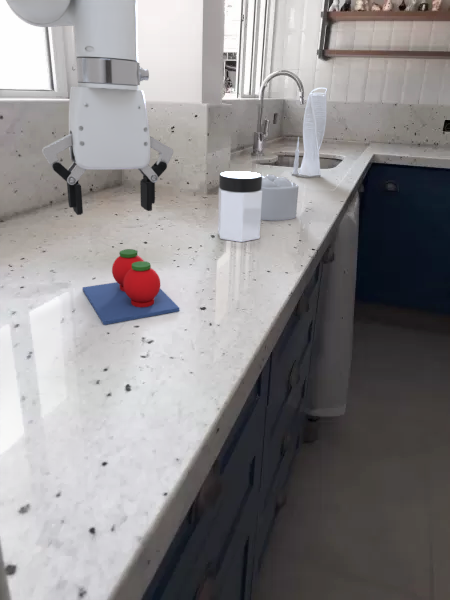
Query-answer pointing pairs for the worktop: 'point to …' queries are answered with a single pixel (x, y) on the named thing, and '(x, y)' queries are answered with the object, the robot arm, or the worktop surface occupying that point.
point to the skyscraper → (312, 135)
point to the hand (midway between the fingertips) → (113, 210)
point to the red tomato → (124, 265)
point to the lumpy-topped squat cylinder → (278, 198)
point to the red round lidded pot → (141, 284)
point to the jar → (239, 206)
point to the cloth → (124, 304)
